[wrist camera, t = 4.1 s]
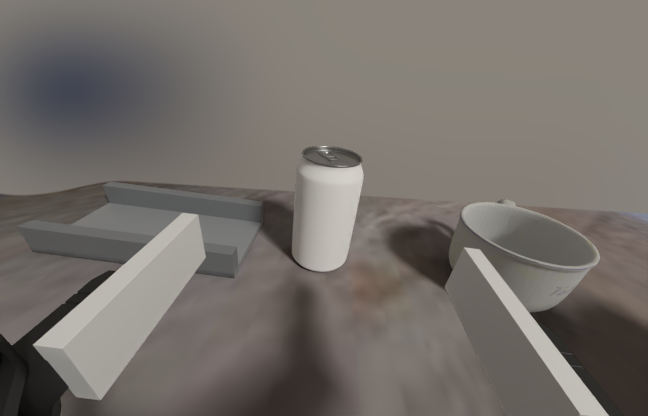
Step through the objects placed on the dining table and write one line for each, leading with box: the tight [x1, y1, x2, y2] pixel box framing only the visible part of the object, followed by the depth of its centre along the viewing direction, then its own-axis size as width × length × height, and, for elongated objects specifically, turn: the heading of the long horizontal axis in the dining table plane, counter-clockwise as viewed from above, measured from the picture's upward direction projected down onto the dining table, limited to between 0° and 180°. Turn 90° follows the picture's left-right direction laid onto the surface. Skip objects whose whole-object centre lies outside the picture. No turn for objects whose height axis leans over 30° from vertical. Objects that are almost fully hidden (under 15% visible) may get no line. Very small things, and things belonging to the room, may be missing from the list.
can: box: [292, 146, 363, 272], centre depth 25 cm, size 6×6×12 cm
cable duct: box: [18, 182, 264, 278], centre depth 28 cm, size 20×10×3 cm, turn 86°
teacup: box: [449, 199, 600, 312], centre depth 26 cm, size 14×11×8 cm
